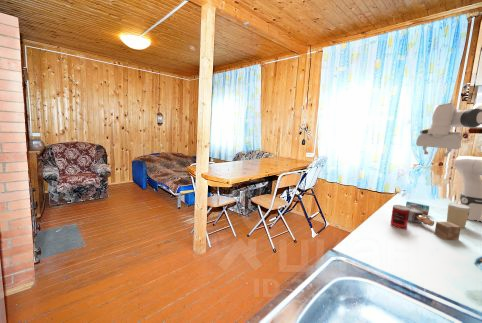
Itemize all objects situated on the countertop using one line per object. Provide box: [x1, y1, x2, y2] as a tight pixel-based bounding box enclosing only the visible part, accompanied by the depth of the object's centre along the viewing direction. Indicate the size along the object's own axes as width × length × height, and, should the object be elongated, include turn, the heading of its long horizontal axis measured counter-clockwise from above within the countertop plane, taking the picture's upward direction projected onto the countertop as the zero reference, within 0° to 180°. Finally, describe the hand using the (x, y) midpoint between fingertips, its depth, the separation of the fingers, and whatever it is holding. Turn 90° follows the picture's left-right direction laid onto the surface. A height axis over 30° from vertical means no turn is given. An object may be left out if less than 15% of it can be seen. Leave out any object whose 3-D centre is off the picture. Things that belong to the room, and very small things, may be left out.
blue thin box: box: [405, 200, 430, 216], centre depth 151 cm, size 12×2×6 cm, turn 45°
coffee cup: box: [446, 202, 470, 229], centre depth 131 cm, size 9×9×12 cm
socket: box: [434, 221, 462, 241], centre depth 116 cm, size 7×6×7 cm
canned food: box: [390, 204, 410, 230], centre depth 127 cm, size 8×8×11 cm
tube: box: [414, 214, 435, 227], centre depth 132 cm, size 4×16×4 cm, turn 6°
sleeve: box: [408, 209, 424, 224], centre depth 136 cm, size 7×6×6 cm
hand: (435, 155), depth 134 cm, fingers open, 8 cm apart
